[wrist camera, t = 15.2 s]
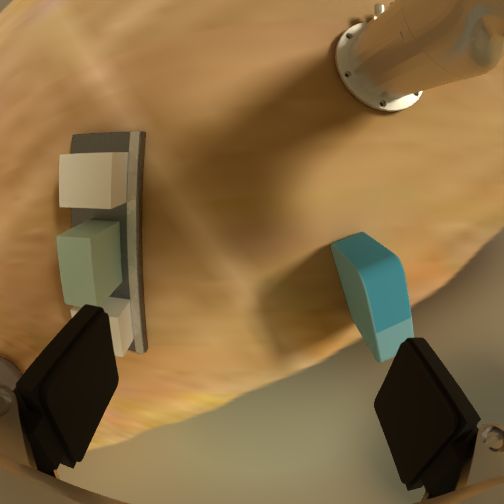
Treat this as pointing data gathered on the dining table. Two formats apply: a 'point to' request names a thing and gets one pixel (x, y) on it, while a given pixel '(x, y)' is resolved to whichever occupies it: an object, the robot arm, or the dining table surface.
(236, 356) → the dining table surface
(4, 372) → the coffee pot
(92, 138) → the rail plate
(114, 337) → the mounted modules
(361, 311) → the data package
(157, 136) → the dining table surface
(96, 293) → the module block
